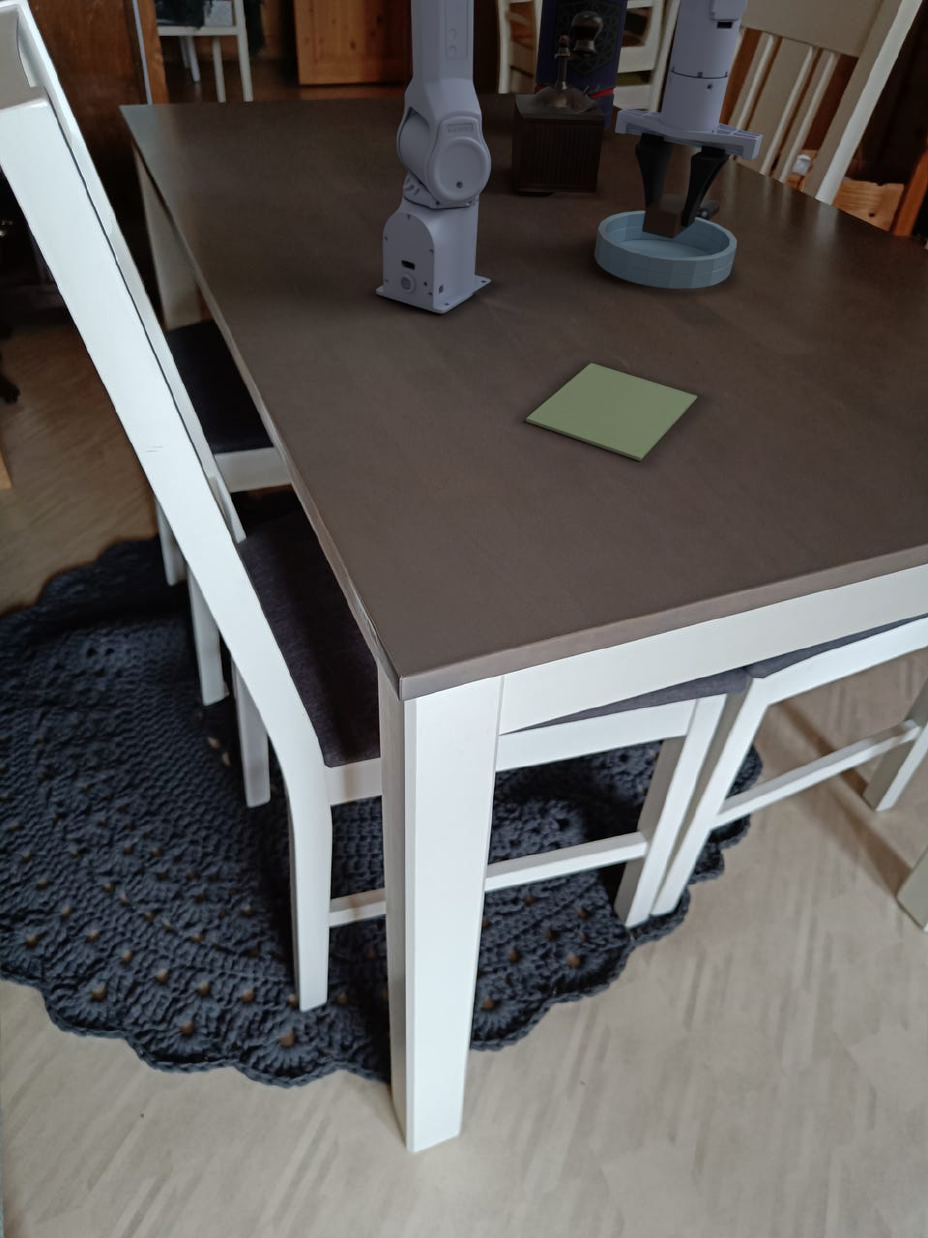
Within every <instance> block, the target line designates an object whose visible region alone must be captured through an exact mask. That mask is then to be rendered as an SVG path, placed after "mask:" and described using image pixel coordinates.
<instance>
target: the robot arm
mask: <svg viewBox="0 0 928 1238" xmlns="http://www.w3.org/2000/svg"><path fill="white" fill-rule="evenodd" d="M474 1H475V0H410V13H411V47H412V51H411V52H412V78H411V80H410V82H409V83H408V86H407V88H406V90H405V92H404V111H403V115H402V119H401V122H400V123H399V127H398V129H397V133H396V141H395V142H396V143H395V144H396V152H397V155H398V157H399V158H398V159H399V160H400V162H401V164H402V165H403V166H404V168H405V169H407V174H406V176H405V180H404V182H403V185H402V196H401V197H402V199H401V202H400V205H399V207H398V209H397V210H396V211H395V212H394V213H392V215H390V216H389V217H388V219H387V220H386V222H385V223H384V227H383V230H382V284H381V286H379V287H377V288H376V289H375V294H376V295H379V296H381V297H385V298H388V299H391V300H395V301H397V302H401V303H404V304H407V305H411V306H413V307H417V308H420V309H423V310H426V311H430V312H433V313H436V314H439V315H440V314H441V315H442V314H446V313H447V312H449V311H450V310H452V309H454V308H455V307H456V306H459V305H460V304H461V303H463V302H465V301H466V300H468V299H470V298H471V297H474V295H476V293H475V292H477V291H478V290H479V289H481V288H483V287H484V286H487V284H489V283H491V281H492V280H491V279H490V278H488V277H483V276H480V275H476V258H477V257H476V255H477V239H478V222H479V221H478V220H479V203H480V194H481V192H483V190H484V188H485V187H486V185H487V183H488V181H489V178H490V174H491V169H492V158H491V153H490V150H489V148H488V144H487V143H486V141H485V138H484V135H483V130H482V129H483V125H482V124H483V123H482V120H483V115H482V110H481V107H480V103H479V99H478V96H477V92H476V89H475V86H474V78H473V77H474V76H473V75H474V67H473V66H474ZM748 3H749V0H680V3H679V8H678V14H677V21H676V26H675V32H674V38H673V43H672V49H671V55H670V59H669V66H668V70H667V77H666V81H665V82H666V83H665V87H664V88H665V89H664V93H663V99H662V105H661V111H660V112H657V111H647V110H640V109H633V108H627V107H625V108H623V109H621V110H619V111H617V113H616V114H617V115H616V122H615V128H614V133H617V134H621V135H626V134H630V135H636V136H640V139H639V142H638V143H637V144H635V146H634V155H635V157H636V160H637V162H638V166H639V170H640V174H641V179H642V184H643V192H644V193H643V195H644V208H645V209H644V211H646V207H647V206H648V205H650V204H651V203H653V202H655V201H656V200H658V199H659V198H661V197H662V196H663V193H664V188H665V187H664V186H665V182H666V181H665V180H666V176H667V172H668V168H669V165H670V161H671V157H672V154H673V151H674V148H675V144H679V145H682V146H688V147H694V148H698V149H700V151H697V152H696V153H694V154H692V155H691V158H690V166H689V167H690V168H689V180H688V187H687V188H688V189H687V195H686V197H687V199H686V203H685V207H684V211H683V218H682V226H684V227H689V226H690V225H691V224H693V223H694V221H695V218H696V215H697V213H698V210H699V208H700V207H701V206H702V203H703V201H704V199H705V197H706V196H707V193H708V191H709V189H710V188H711V186H712V184H713V183H714V181H715V179H716V178H717V176H718V175H719V174H720V172H721V171H722V170H723V168H724V167H725V165H726V163H727V162H728V161H729V159H730V158H731V156H736V157H740V158H741V159H742V160H746V161H749V162H750V161H753V160H755V159H756V158H757V157H758V156H759V153H760V148H761V144H762V141H763V137H764V136H763V134H759V133H755V132H750V131H747V130H743V129H740V128H737V127H734V126H731V125H728V124H725V123H721V122H720V119H721V115H722V114H721V113H722V111H723V110H722V109H723V104H724V100H725V95H726V91H727V87H728V81H729V78H730V73H731V68H732V63H733V58H734V54H735V50H736V45H737V41H738V35H739V32H740V26H741V21H742V19H743V18H742V17H743V14H744V13H746V11H747V7H748Z"/></svg>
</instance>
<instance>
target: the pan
mask: <svg viewBox="0 0 928 1238" xmlns="http://www.w3.org/2000/svg"><path fill="white" fill-rule="evenodd" d="M644 216H645V210H635V211H634V210H633V211H624V212H620V213H617V214H613V215H610V216H608V217H606V218H604V219H603V220H601V221H600V223H599V226H598V228H597V232H596V233H597V234H596V240H595V248H594V253H593V254H594V255H593V256H594V259H595V262H596V263H597V264H598V266H599V267H601V268H602V269H603V270H604V271H606V272H607V273H609V274H611V275H613V276H614V277H617V278H619V279H622V280H624V281H627V282H630V283H634V284H638V285H643V286H647V287H653V288H660V289H670V290H671V289H672V290H692V289H701V288H707V287H711V286H714V285H717V284H719V283H722V282H723V281H725V280H726V279H727V278H728V277H729V276H730V275H731V271H732V268H733V264H734V260H735V255H736V251H737V248H738V247H737V246H738V245H737V244H738V240H737V237H735V236H734V234H733V233H732V232H731V231H730V230H728V229H726V228H725V227H723V226H722V225H720V224H719V223H716V222H712V221H711V220H709V221H708V220H705V219H701V218H698V217H696V218H695V221H694V223H693V224H692V225H691V226H690V227H688V228H687V229H685V230H684V231H683V232H681V233H680V234H679V235H677V236H676V237H675V238H673V239H670V238H666V237H662V236H658V235H654V234H650V233H646V232H642V228H643V222H644Z"/></svg>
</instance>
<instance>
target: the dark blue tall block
mask: <svg viewBox="0 0 928 1238" xmlns="http://www.w3.org/2000/svg"><path fill="white" fill-rule="evenodd" d="M628 2H629V0H542V1H541V9H540V10H541V12H540V22H539V33H538V34H539V35H538V45H537V55H536V56H537V57H536V65H535V66H536V67H535V79H534V83H535V84H536V85H534V89H533V91H534V92H533V94H536V93H537V92H539V91H540V90H542V89H544V88H546V87H548V86H553V85H555V84H556V82H557V81H558V71H559V61H557V60H556V59H555V54H558V53H559V51H558V49H559V48H560V45H559V39H560V37H561V36H563V35H567V36H569V39H570V42H569V46H568V49H569V50H570V53H574V51H573V50H574V48H575V46H576V43H577V38H576V35H575V33H574V31H573V29H572V21H573V19H574V17H575V15H577V14H578V13H580V12H582V11H592V12H596V13H597V14H598V15H599V16H600V17H601V18H602V22H603V27H602V31H601V32H600V33H599V34H598V36H597V37H596V39H595V41H594V47H595V50H596V53H595V54H589V55H588V56H587V57H585V59H584V60H583V59H582V58H581V57H579V58H576V59H573V60H570V61H567V64H566V76H565V82H566V84H567V85H568V84H571V85H572V86H574V87H576V88H577V89H579V90H581V91H583V92H584V90H585V89H586V87H587V86H588V85H589V89H588V92H587V93H586V95H587V96H593V97H594V98H595V99H596V100H597V101H598V105H599V107H600V108H601V110H602V112H603V114H604V117H605V126H604V132H606V131H607V130H609V128H610V127H611V122H612V116H613V108H614V101H615V93H614V89H616V87H617V81H618V80H617V79H618V73H619V66H620V59H621V52H622V46H623V38H624V32H625V31H624V30H625V26H626V25H625V24H626V16H627V11H628V4H629V3H628Z"/></svg>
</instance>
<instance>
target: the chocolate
mask: <svg viewBox="0 0 928 1238" xmlns="http://www.w3.org/2000/svg"><path fill="white" fill-rule="evenodd" d="M686 199H687V196H685V195H684V196H683V195H680V194H676V193H671V192H667V193H665V194H664V195H662V197H661V198H659V199H658V200H656V201H655V202H653V203H651V204H650V205H648V206H647V207H646V211H645V210H644V211H645V216H644V222H643V228H642V232H646V233H650V234H654V235H658V236H662V237H666V238H670V239H673V238H675V237H676V236H677V235H679V234H680V233H681V232H683V231H684V230H685V229H687V228H688V227H684V226H682V218H683V211H684V207H685V203H686ZM691 225H692V224H691ZM691 225H690V226H691ZM690 226H689V227H690Z"/></svg>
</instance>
